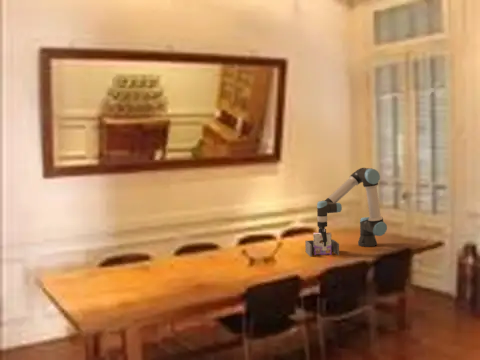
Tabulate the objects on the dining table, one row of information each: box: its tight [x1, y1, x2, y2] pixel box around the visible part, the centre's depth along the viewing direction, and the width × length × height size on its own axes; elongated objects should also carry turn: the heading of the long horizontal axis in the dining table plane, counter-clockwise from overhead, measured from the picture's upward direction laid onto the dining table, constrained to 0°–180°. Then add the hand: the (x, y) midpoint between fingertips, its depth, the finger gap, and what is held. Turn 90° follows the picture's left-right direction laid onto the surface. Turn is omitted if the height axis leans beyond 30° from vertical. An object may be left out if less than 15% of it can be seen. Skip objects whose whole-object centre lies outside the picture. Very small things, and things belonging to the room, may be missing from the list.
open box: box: [304, 238, 340, 258], centre depth 475 cm, size 22×17×9 cm
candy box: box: [312, 232, 333, 256], centre depth 473 cm, size 14×6×16 cm, turn 84°
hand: (322, 248), depth 474 cm, fingers open, 13 cm apart
